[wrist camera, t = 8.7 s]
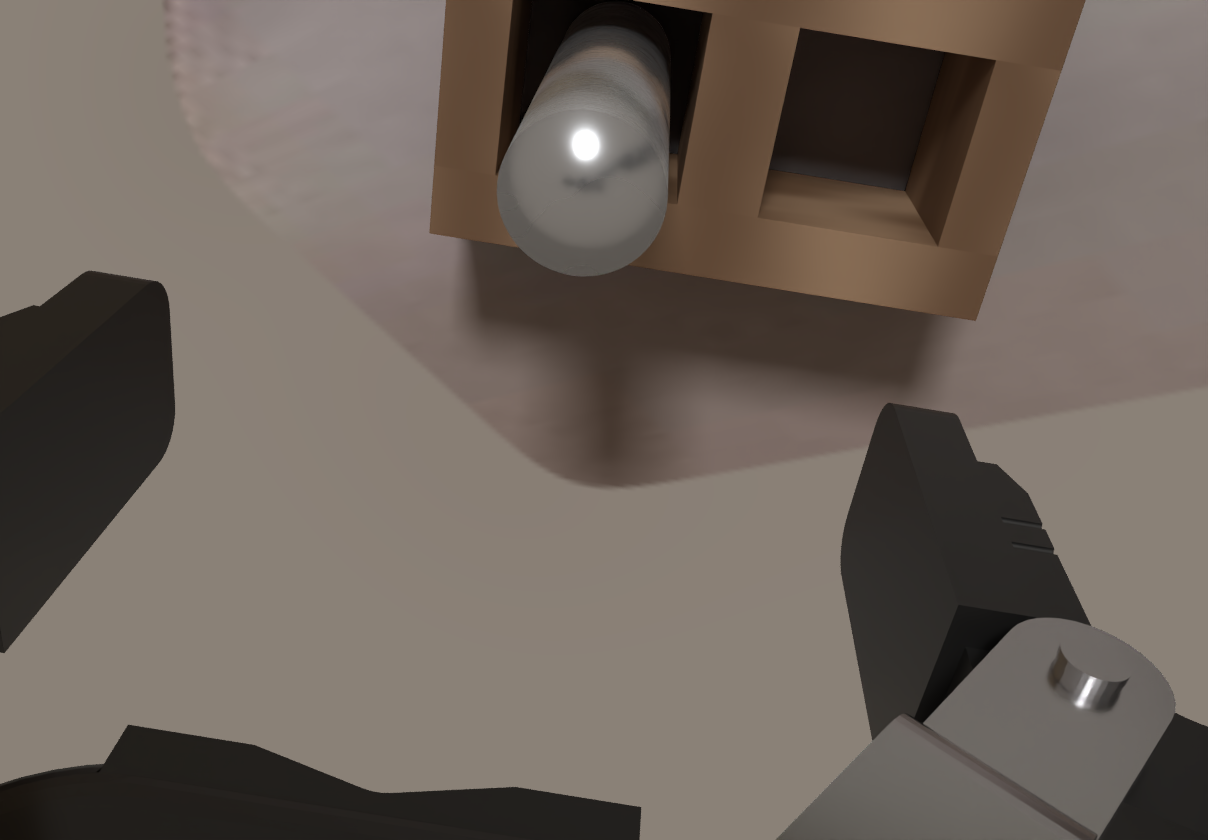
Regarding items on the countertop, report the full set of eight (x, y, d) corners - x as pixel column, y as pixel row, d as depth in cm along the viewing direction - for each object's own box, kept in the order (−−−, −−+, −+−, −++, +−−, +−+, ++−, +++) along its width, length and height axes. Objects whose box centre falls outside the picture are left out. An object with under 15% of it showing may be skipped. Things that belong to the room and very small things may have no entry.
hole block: (1031, -37, 28) (1089, -11, 24) (939, 257, 32) (975, 320, 28) (486, -127, 28) (454, -117, 24) (460, 180, 32) (429, 233, 28)
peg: (680, 11, 29) (681, 125, 19) (661, 123, 30) (652, 288, 20) (568, -8, 29) (505, 96, 19) (553, 106, 30) (488, 262, 20)
